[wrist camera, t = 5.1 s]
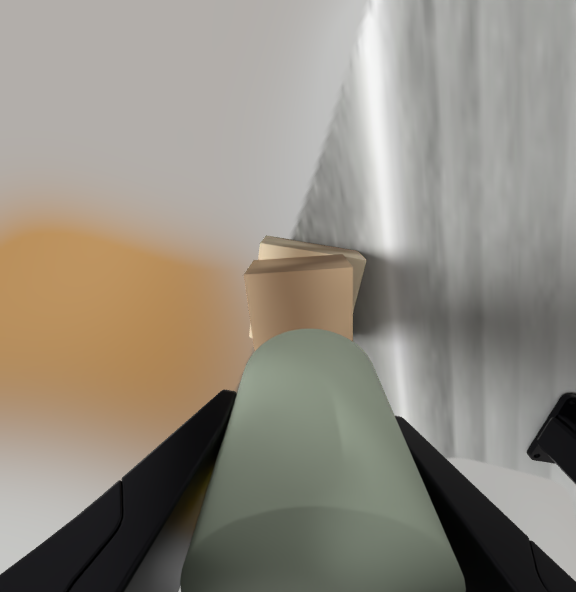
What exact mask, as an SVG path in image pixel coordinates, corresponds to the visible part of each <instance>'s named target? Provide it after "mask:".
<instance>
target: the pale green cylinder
mask: <svg viewBox="0 0 576 592" xmlns="http://www.w3.org/2000/svg"><path fill="white" fill-rule="evenodd" d="M180 585H181V592H466V587H465V580H464V576H463V574H462V571H461V569H460V567H459V564H458V562H457V560H456V557H455V555H454V553H453V550H452V548H451V546H450V543H449V541H448V539H447V536H446V534H445V532H444V529H443V527H442V525H441V522H440V520H439V518H438V515H437V513H436V511H435V508H434V506H433V504H432V502H431V499H430V497H429V495H428V492H427V490H426V488H425V485H424V483H423V481H422V478H421V476H420V474H419V471H418V469H417V467H416V464H415V462H414V460H413V457H412V455H411V453H410V450H409V448H408V446H407V443H406V441H405V439H404V436H403V434H402V432H401V430H400V427H399V425H398V423H397V420H396V418H395V416H394V413H393V411H392V409H391V406H390V404H389V402H388V399H387V397H386V395H385V392H384V390H383V388H382V385H381V383H380V381H379V378H378V376H377V374H376V371H375V369H374V367H373V364H372V362H371V361H370V359H369V357H368V356H367V355H366V353H365V352H364V351H363V350H362V349H361V348H360V347H359V346H358V345H357V344H355V343H354V342H352V341H351V340H350V339H348V338H346V337H344V336H342V335H340V334H337V333H334V332H331V331H327V330H322V329H298V330H292V331H288V332H284V333H282V334H279V335H277V336H275V337H273V338H271V339H269V340H268V341H266V342H265V343H264V344H262V345H261V346H260V347H259V348H258V349H257V350H256V351H255V352H254V353H253V355H252V356H251V357H250V359H249V361H248V362H247V364H246V367H245V370H244V373H243V376H242V379H241V382H240V386H239V389H238V392H237V395H236V398H235V402H234V405H233V408H232V411H231V414H230V418H229V421H228V424H227V427H226V430H225V433H224V437H223V440H222V443H221V446H220V449H219V453H218V456H217V459H216V462H215V465H214V469H213V472H212V475H211V478H210V481H209V485H208V488H207V491H206V494H205V497H204V500H203V504H202V507H201V510H200V513H199V516H198V520H197V523H196V526H195V529H194V532H193V536H192V539H191V542H190V545H189V548H188V552H187V555H186V558H185V561H184V564H183V568H182V571H181V578H180Z"/></svg>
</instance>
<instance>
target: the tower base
mask: <svg viewBox="0 0 576 592" xmlns="http://www.w3.org/2000/svg"><path fill="white" fill-rule="evenodd" d="M335 254H343V255H344V256H345V258H346V259H347V260H348V262H349V263H350V264H351V266H352V267H353V311H354V307H355V303H356V299H357V295H358V292H359V288H360V284H361V280H362V276H363V272H364V268H365V265H366V261H367V260H366V259H365V258H364V257H363V256H362V255H361V254H360V253H359V252H358V251H356V250H349V249H343V248H337V247H331V246H325V245H318V244H312V243H306V242H300V241H294V240H291V239H286V238H280V237H273V236H267V235H266V236H265V238H264V239H263V240H262V241H261V243H260V249H259V257H258V260H265V259H280V258H294V257H308V256H322V255H335ZM249 337H250V338H253V337H252V330H251V326H250V334H249Z"/></svg>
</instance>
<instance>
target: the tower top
mask: <svg viewBox="0 0 576 592" xmlns="http://www.w3.org/2000/svg"><path fill="white" fill-rule="evenodd" d="M244 280H245V286H246V294H247V301H248V308H249V315H250V323H251V330H252V337H253V344H254V351H256V350H257V349H258V348H259V347H260V346H261V345H262V344H264V343H265V342H266V341H268V340H269V339H271V338H273V337H275V336H277V335H279V334H282V333H284V332H288V331H292V330H298V329H322V330H327V331H331V332H334V333H337V334H340V335H342V336H344V337H346V338H348V339H350V340H351V341H352V342H353V267H352V266H351V264H350V263H349V262H348V260H347V259H346V258H345V256H344V255H343V254H335V255H322V256H308V257H294V258H280V259H265V260H254V261H253V262H252V264H251V265H250V267H249V268H248V269H247V271H246V272H245V274H244Z"/></svg>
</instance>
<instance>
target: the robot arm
mask: <svg viewBox="0 0 576 592" xmlns="http://www.w3.org/2000/svg"><path fill="white" fill-rule="evenodd" d="M236 395H237V393H236V392H235V391H230V390H222V391H221V392H220V393H218V395H216V396H215V397H214V398H213V399H212V400H210V401H209V402H208V403H207V404H206V405H205V406H204V407H202V408H201V409H200V410H199V411H198V412H197V413H196V414H195V415H193V416H192V417H191V418H190V419H189V420H188V421H186V422H185V423H184V424H183V425H182V426H181V427H180V428H179V429H177V430H176V431H175V432H174V433H173V434H172V435H170V436H169V437H168V438H167V439H166V440H165V441H164V442H162V443H161V444H160V445H159V446H158V447H157V448H156V449H154V450H153V451H152V452H151V453H150V454H149V455H148V456H147V457H146V458H144V459H143V460H142V461H141V462H140V463H138V464H137V465H136V466H135V467H134V468H133V469H132V470H131V471H129V472H128V473H127V474H126V475H125V476H124V477H122V481H120V480H119V481H118V482H116V483H115V484H114V485H113V486H112V487H111V488H110V489H108V490H107V491H106V492H105V493H104V494H103V495H102V496H100V497H99V498H98V499H97V500H96V501H94V502H93V503H92V504H91V505H90V506H89V507H87V508H86V509H85V510H84V511H82V512H81V513H80V514H79V515H78V516H77V517H75V518H74V519H73V520H71V521H70V522H69V523H68V524H66V525H65V526H64V527H62V528H61V529H60V530H59V531H57V532H56V533H55V534H53V535H52V536H51V537H50V538H48V539H47V540H46V541H44V542H43V543H42V544H40V545H39V546H38V547H36V548H35V549H34V550H32V551H31V552H30V553H29V554H27V555H26V556H25V557H23V558H22V559H21V560H19V561H18V562H17V563H15V564H14V565H13V566H11V567H10V568H9V569H7V570H6V571H5V572H3V573H2V574H1V575H0V592H178V591H179V588H180V578H181V571H182V568H183V564H184V561H185V558H186V555H187V552H188V548H189V545H190V542H191V539H192V536H193V532H194V529H195V526H196V523H197V520H198V516H199V513H200V510H201V507H202V504H203V500H204V497H205V494H206V491H207V488H208V485H209V481H210V478H211V475H212V472H213V469H214V465H215V462H216V459H217V456H218V453H219V449H220V446H221V443H222V440H223V437H224V433H225V430H226V427H227V424H228V421H229V418H230V414H231V411H232V408H233V405H234V402H235V398H236ZM395 418H396V420H397V423H398V425H399V427H400V430H401V432H402V434H403V436H404V439H405V441H406V443H407V446H408V448H409V450H410V453H411V455H412V457H413V460H414V462H415V464H416V467H417V469H418V471H419V474H420V476H421V478H422V481H423V483H424V485H425V488H426V490H427V492H428V495H429V497H430V499H431V502H432V504H433V506H434V508H435V511H436V513H437V515H438V518H439V520H440V522H441V525H442V527H443V529H444V532H445V534H446V536H447V539H448V541H449V543H450V546H451V548H452V550H453V553H454V555H455V557H456V560H457V562H458V564H459V567H460V569H461V571H462V574H463V576H464V580H465V587H466V592H576V581H574V580H573V579H572V578H571V577H570V576H569V575H568V574H567V573H566V572H565V571H564V570H563V569H562V568H560V567H559V566H558V565H557V564H556V563H555V562H554V561H553V560H552V559H551V558H550V557H549V556H548V555H546V553H545V552H543V551H542V550H541V549H540V548H539V547H538V546H537V545H536V544H535V543H534V542H533V541H529V538H528V536H527V535H525V534H524V533H523V532H522V531H521V530H520V529H519V528H518V527H517V526H516V525H515V524H514V523H513V522H512V521H511V520H510V519H509V518H508V517H507V516H505V515H504V514H503V513H502V512H501V511H500V510H499V509H498V508H497V507H496V506H495V505H494V504H493V503H492V502H491V501H489V499H488V498H487V497H486V496H484V495H483V494H482V493H481V492H480V491H479V490H478V489H477V488H476V487H475V486H474V485H473V484H472V483H471V482H470V481H469V480H468V479H467V478H466V477H465V476H464V475H462V474H461V473H460V472H459V471H458V470H457V469H456V468H455V467H454V466H453V465H452V464H451V463H450V462H449V461H448V460H447V459H446V458H445V457H444V456H443V455H441V454H440V453H439V452H438V451H437V450H436V449H435V448H434V447H433V446H432V445H431V444H430V443H429V442H428V441H427V440H426V439H425V438H424V437H423V436H422V435H420V434H419V433H418V432H417V431H416V430H415V429H414V428H413V427H412V426H411V425H410V424H409V423H408V422H407V421H406V420H405V419H404V418H402V417H400V416H395ZM527 454H528V456H529V457H530V458H531V459H532V460H536V461H543V462H549V463H556V464H557V465H558V466H559V467H560V468H561V469H562V470H563V471H564V473H565V474H566V475H567V476H568V477H569V478H570V479H571V480H572V481H573V482H574V483H575V484H576V395H575V394H565V395H563V396H562V397H561V398H560V399H559V401H558V403H557V404H556V406H555V407H554V409H553V411H552V412H551V414H550V415H549V417H548V419H547V420H546V422H545V423H544V425H543V427H542V428H541V430H540V431H539V433H538V435H537V436H536V438H535V439H534V441H533V442H532V444H531V446H530V447H529V449H528V450H527Z"/></svg>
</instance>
